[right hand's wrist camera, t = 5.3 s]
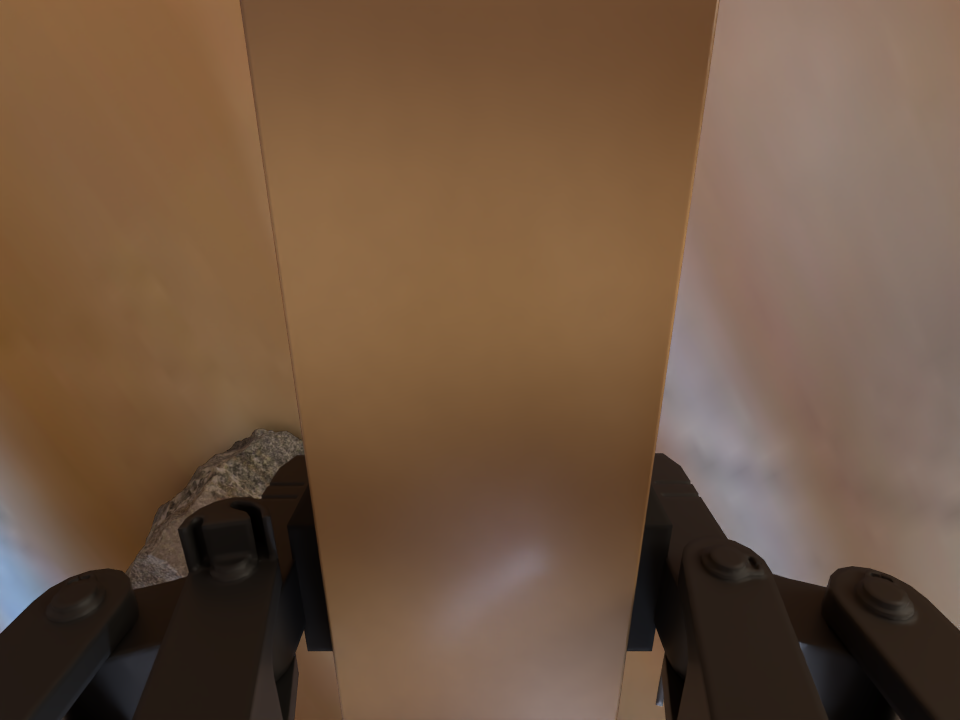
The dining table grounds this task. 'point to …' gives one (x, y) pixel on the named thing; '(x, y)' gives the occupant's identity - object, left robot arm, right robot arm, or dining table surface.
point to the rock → (210, 499)
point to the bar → (479, 327)
